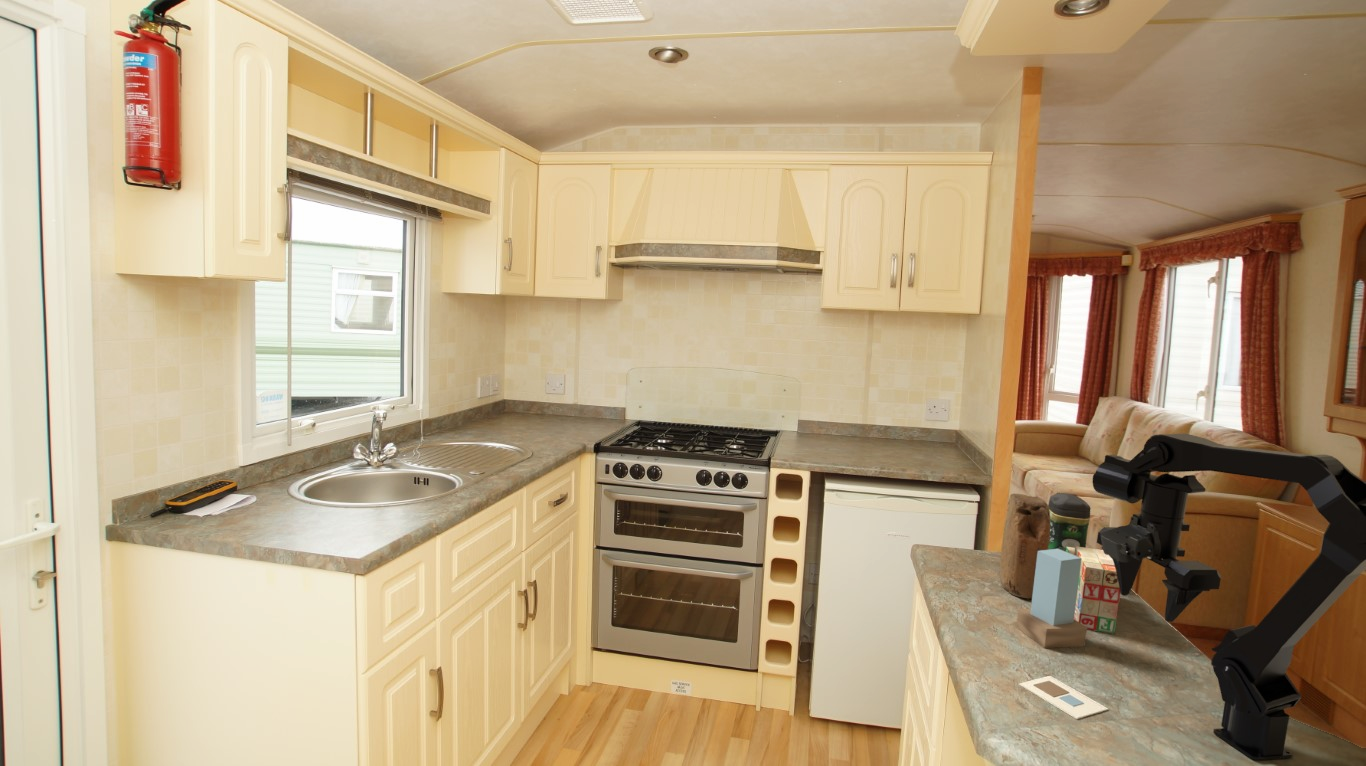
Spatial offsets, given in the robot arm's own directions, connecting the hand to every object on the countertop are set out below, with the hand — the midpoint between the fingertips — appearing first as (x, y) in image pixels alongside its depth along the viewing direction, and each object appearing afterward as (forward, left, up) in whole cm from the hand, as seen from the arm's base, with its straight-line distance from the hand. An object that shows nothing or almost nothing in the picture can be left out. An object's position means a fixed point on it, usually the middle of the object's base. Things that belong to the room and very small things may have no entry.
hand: (1145, 607), depth 116 cm
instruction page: (-2, +15, -13) cm, 20 cm away
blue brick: (+17, +3, -10) cm, 19 cm away
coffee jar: (+44, -20, -13) cm, 50 cm away
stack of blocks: (+27, -13, -13) cm, 33 cm away
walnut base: (+17, +3, -13) cm, 21 cm away
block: (+37, -5, -13) cm, 39 cm away
